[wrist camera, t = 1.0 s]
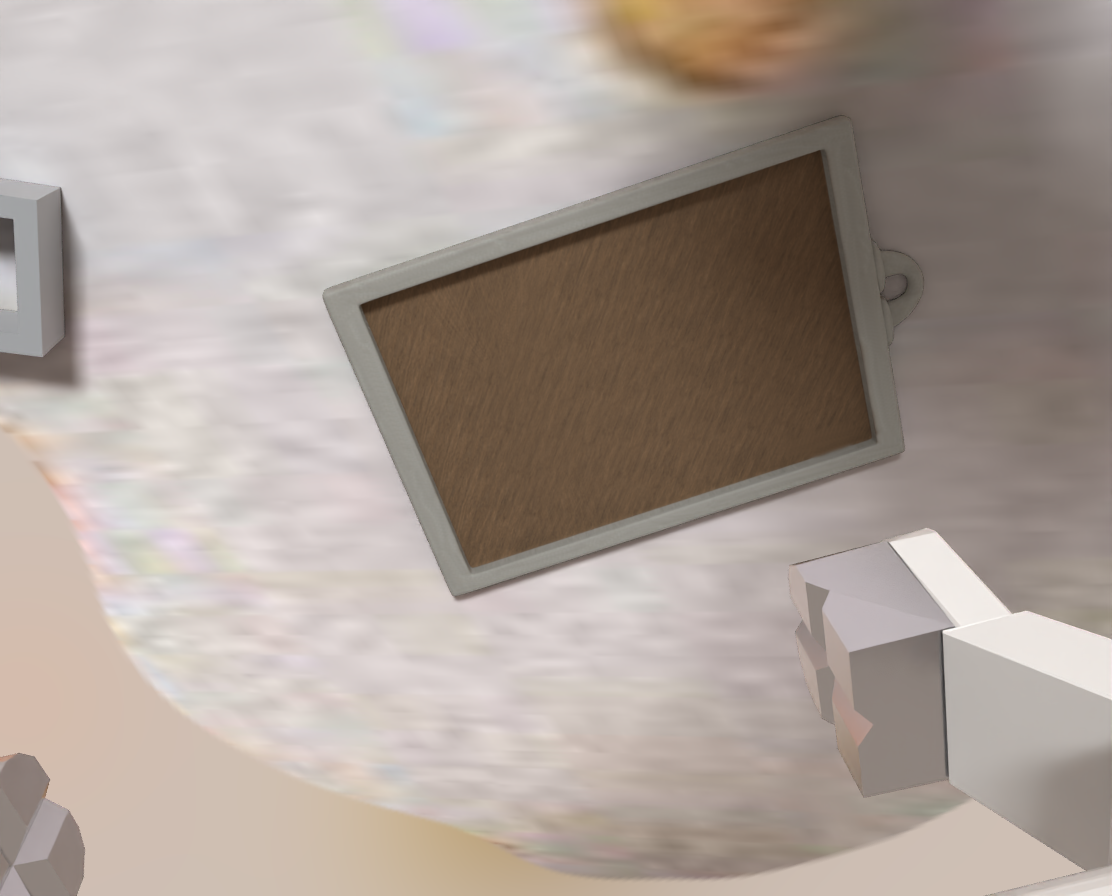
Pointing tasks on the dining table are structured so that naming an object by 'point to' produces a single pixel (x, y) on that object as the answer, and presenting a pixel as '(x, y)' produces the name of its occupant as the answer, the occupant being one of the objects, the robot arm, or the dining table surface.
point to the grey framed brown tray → (635, 357)
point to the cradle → (34, 268)
